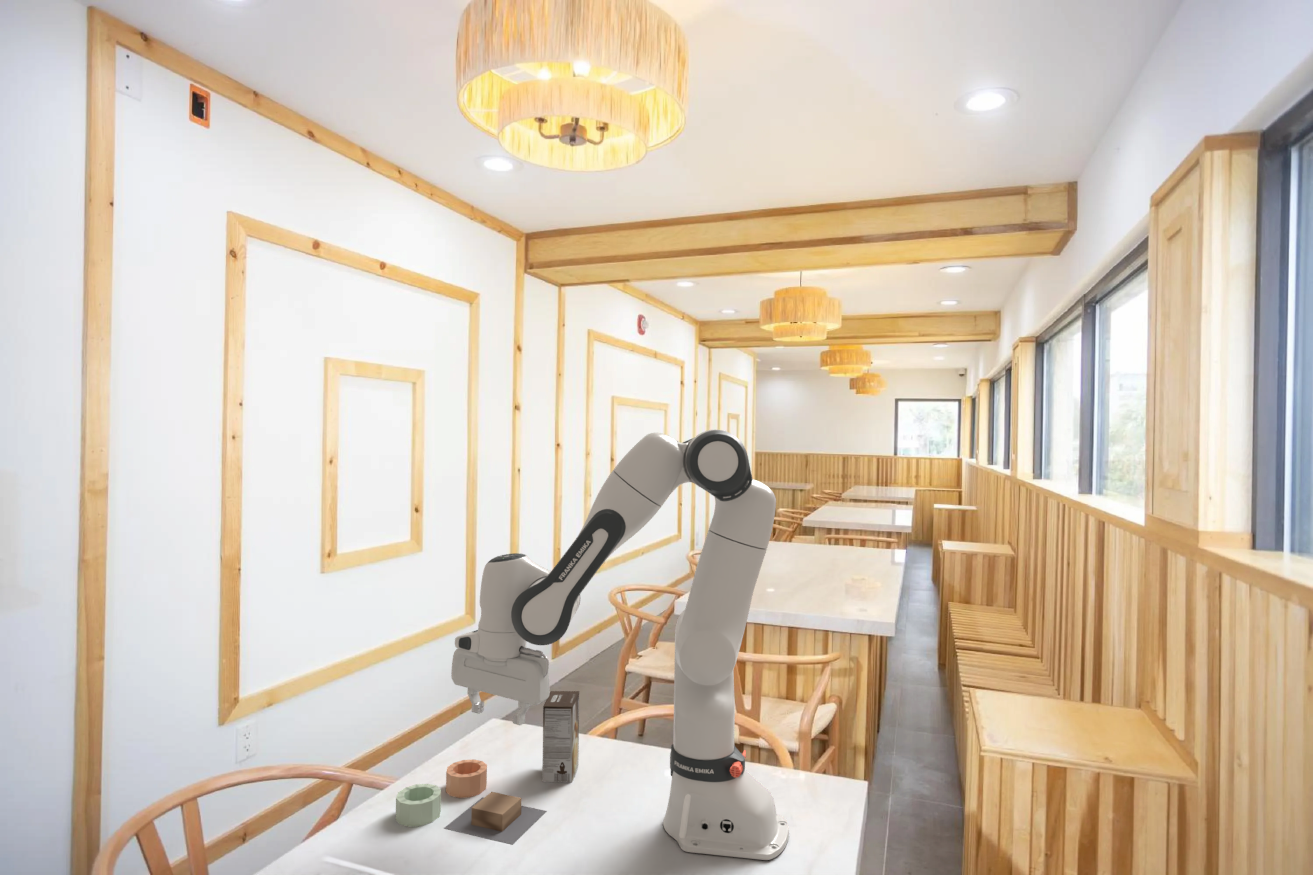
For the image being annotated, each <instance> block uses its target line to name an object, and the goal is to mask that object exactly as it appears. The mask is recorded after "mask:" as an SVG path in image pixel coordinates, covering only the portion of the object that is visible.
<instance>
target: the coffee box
mask: <svg viewBox="0 0 1313 875" xmlns="http://www.w3.org/2000/svg"><path fill="white" fill-rule="evenodd" d="M579 728H580V691H579V690H575V691H574V690H572V691H571V690H550V695H549V697H548V698H547V700H546V701H544V703H543V706H542V768H541V769H542V771H541V772H542V774H541V775H542V776H541V778H542V780H541V781H542V783H567V784H568V783H573V781H574V778H576V774H577V771H578V768H579V754H580V753H579V752H580V750H579V748H580V745H579V740H580V734H579V731H580V729H579Z"/></svg>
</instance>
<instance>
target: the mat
mask: <svg viewBox="0 0 1313 875" xmlns="http://www.w3.org/2000/svg"><path fill="white" fill-rule="evenodd" d="M483 798H484V796H483V797H481V798H480V799H478V800H477V801H475V802H474V803H473V804H472V805H471V806H469V807H468V808H467V809H466V810H465V811H463V812H462V813H460V815H458V816H457V817H456V818H454V819H453V820H452V821H451V822H449V824H447V825H446V826H444V827H443V829H445V830H449V831H453V832H458V833H462V834H466V835H470V836H474V837H478V838H482V839H483V838H484V839H487V840H491V841H495V842H499V843H503V844H509V845H514V844H515V843H516V842H517V841H519V839H520V838H521V837H522V836H523V835H524V834H525V833H527V831H529V830H530V829H531V828H532V827H533V826H534V825H535V824H536V823H537V822H538V821H539V820H540V819H541V818H542V817H543V816H544V815H545V814H546V813H547V812H548V811H547V810H544V809H541V808H540V809H539V808H535V807H530V806H525V805H521V815H520V816H519V817H518V818H517V819H516V820H515V821H513V822H512V823H511V824H510V825H509V826H508V827H507V828H506V829H505V830H504V831H503V832H501V831H497V830H493V829H488V828H484V827H480V826H475V825H471V813H472V807H473V806H474V805H476V804H477V803H478V802H479V801H481V800H482V799H483Z"/></svg>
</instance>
